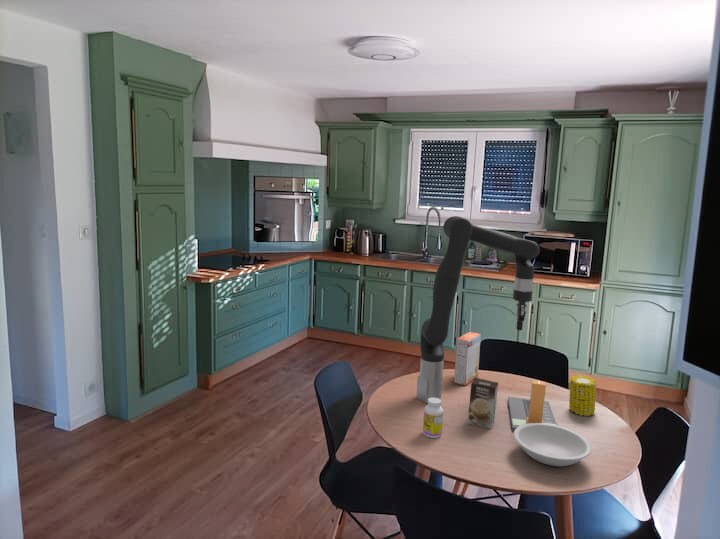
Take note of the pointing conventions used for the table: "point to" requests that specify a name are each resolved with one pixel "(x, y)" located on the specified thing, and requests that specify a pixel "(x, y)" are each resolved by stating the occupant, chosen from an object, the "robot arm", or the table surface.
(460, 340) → the cracker box
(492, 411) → the coffee box
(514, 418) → the fader board
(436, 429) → the supplement bottle
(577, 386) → the food
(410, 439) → the table surface
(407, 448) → the table surface
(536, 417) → the block
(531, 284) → the robot arm
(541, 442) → the soup bowl
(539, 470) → the table surface
